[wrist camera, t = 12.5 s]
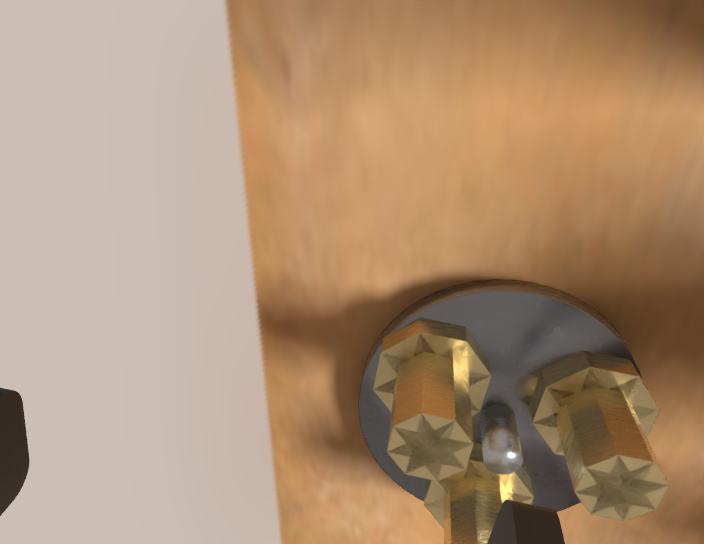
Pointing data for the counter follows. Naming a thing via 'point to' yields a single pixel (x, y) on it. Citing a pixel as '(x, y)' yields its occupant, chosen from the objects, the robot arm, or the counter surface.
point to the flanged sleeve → (474, 499)
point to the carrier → (502, 375)
